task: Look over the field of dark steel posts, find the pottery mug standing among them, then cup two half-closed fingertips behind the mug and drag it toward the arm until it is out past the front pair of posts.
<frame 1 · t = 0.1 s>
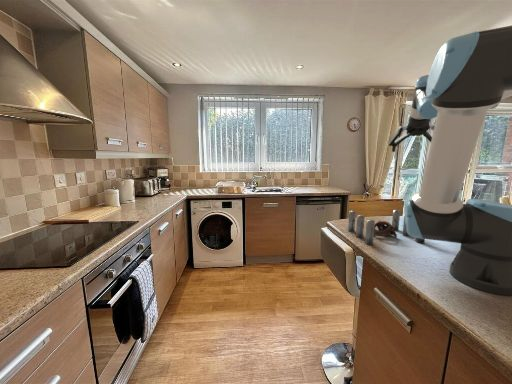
hand: (411, 156, 107), 36 cm above the worktop, tool tilted 35°, fingers open, 13 cm apart
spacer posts: (383, 236, 101), on the worktop
pottery mug: (383, 236, 101), on the worktop
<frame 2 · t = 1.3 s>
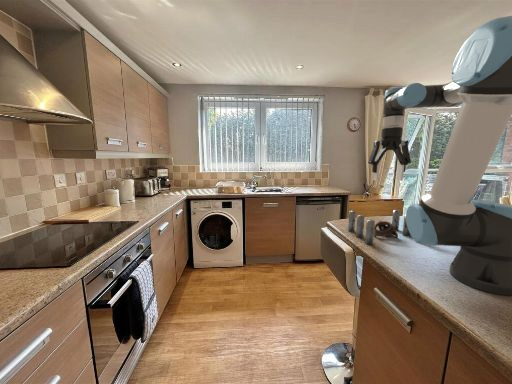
hand: (387, 180, 97), 26 cm above the worktop, tool pointing down, fingers open, 10 cm apart
nothing on the worktop moved.
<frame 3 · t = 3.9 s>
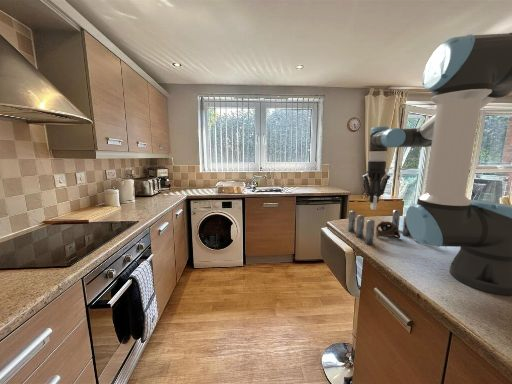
hand: (373, 209, 108), 10 cm above the worktop, tool pointing down, fingers closed
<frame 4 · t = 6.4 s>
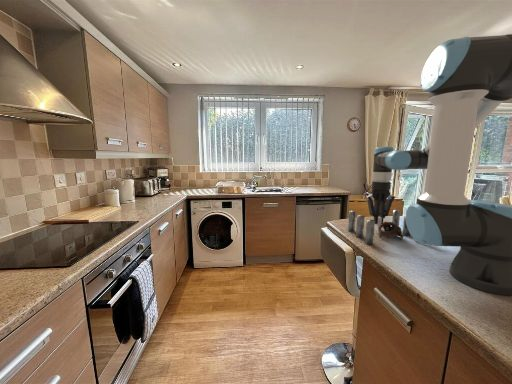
hand: (377, 230, 105), 1 cm above the worktop, tool pointing down, fingers closed
pottery mug: (389, 237, 99), on the worktop, touching gripper
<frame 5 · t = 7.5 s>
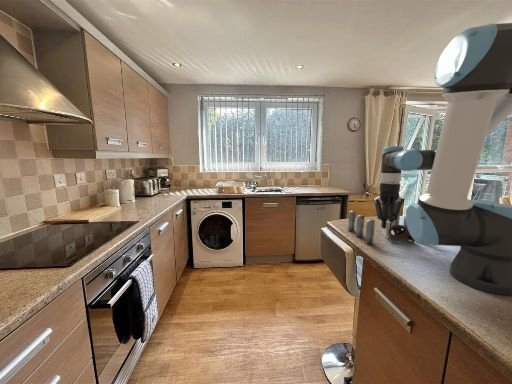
hand: (385, 234, 99), 1 cm above the worktop, tool pointing down, fingers closed
pottery mug: (399, 241, 95), on the worktop, touching gripper
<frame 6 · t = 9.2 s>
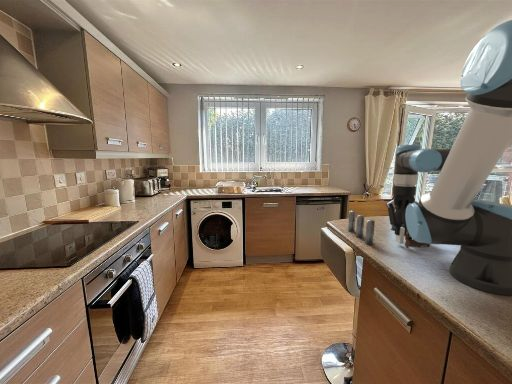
hand: (399, 242, 90), 1 cm above the worktop, tool pointing down, fingers closed
pottery mug: (414, 246, 90), on the worktop, touching gripper, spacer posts
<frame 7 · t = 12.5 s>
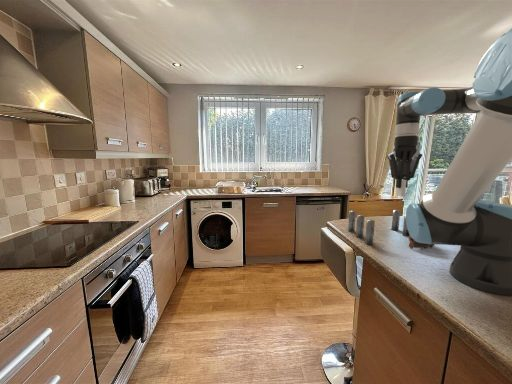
hand: (400, 195, 89), 20 cm above the worktop, tool pointing down, fingers closed
pottery mug: (418, 247, 89), on the worktop
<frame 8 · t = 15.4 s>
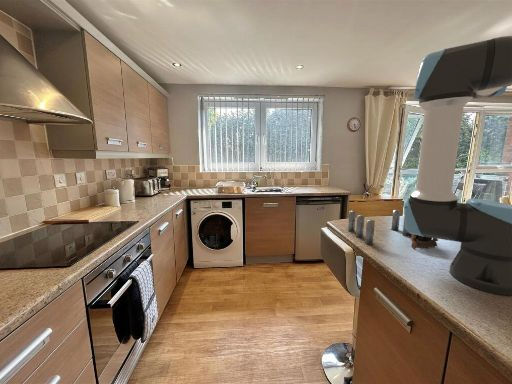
hand: (430, 172, 104), 28 cm above the worktop, tool pointing down, fingers closed
nothing on the worktop moved.
at the end: pottery mug inside the target area (10.4 cm from its centre), on the worktop; pottery mug tilted 0° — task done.
